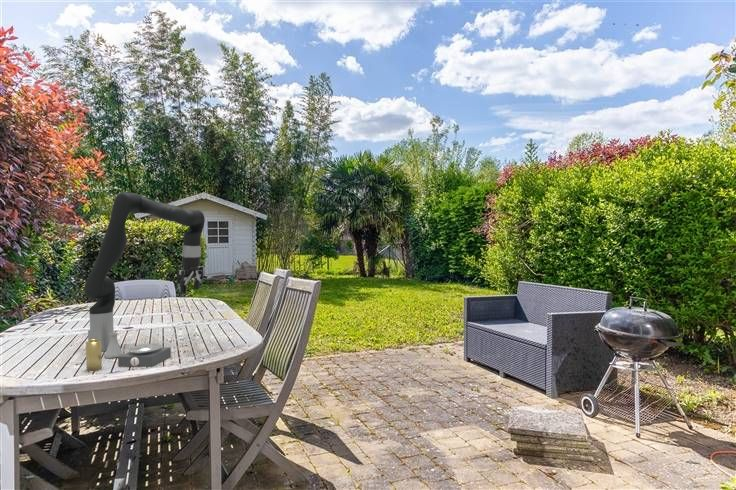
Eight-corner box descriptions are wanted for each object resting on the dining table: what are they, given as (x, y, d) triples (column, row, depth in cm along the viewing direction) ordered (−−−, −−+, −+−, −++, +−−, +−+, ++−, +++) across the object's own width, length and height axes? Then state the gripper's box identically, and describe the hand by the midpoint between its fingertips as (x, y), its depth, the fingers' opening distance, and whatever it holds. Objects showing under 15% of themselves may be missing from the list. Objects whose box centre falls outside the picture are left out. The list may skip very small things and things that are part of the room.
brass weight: (83, 371, 164) (82, 340, 163) (92, 367, 169) (91, 337, 168) (95, 371, 163) (95, 340, 163) (104, 367, 168) (103, 337, 168)
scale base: (117, 367, 169) (117, 355, 169) (139, 356, 184) (139, 346, 183) (151, 366, 168) (151, 355, 168) (170, 356, 183) (170, 346, 183)
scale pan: (121, 353, 170) (121, 351, 170) (139, 346, 182) (139, 343, 182) (151, 353, 170) (150, 350, 170) (167, 345, 182) (167, 343, 182)
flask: (109, 359, 180) (108, 336, 180) (100, 357, 184) (100, 334, 184) (126, 355, 186) (126, 332, 186) (118, 353, 190) (117, 331, 190)
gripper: (195, 252, 196) (193, 287, 198) (172, 256, 183) (171, 293, 184) (209, 254, 194) (207, 289, 196) (187, 258, 181) (186, 295, 182)
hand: (190, 291), depth 190 cm, fingers open, 8 cm apart
